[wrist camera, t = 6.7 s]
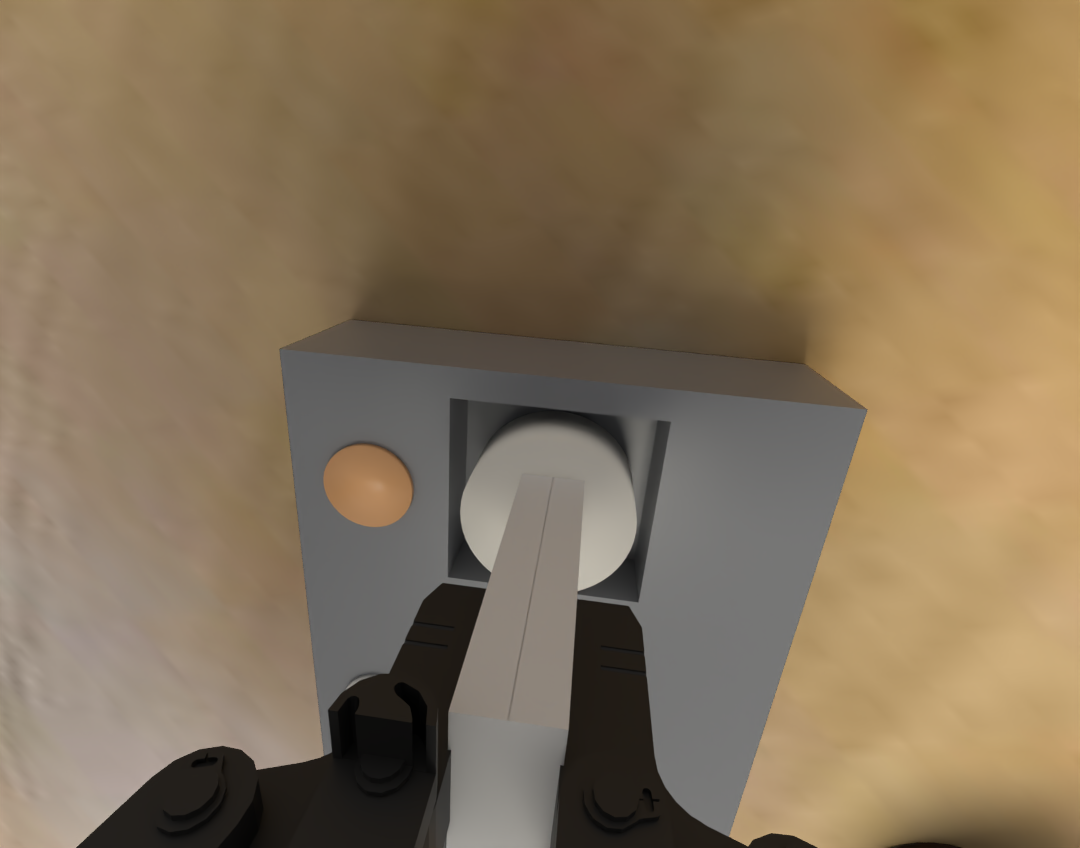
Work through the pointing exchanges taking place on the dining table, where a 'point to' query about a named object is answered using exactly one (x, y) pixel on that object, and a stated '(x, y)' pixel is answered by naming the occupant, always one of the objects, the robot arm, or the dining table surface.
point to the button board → (660, 498)
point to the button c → (563, 453)
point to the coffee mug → (925, 845)
